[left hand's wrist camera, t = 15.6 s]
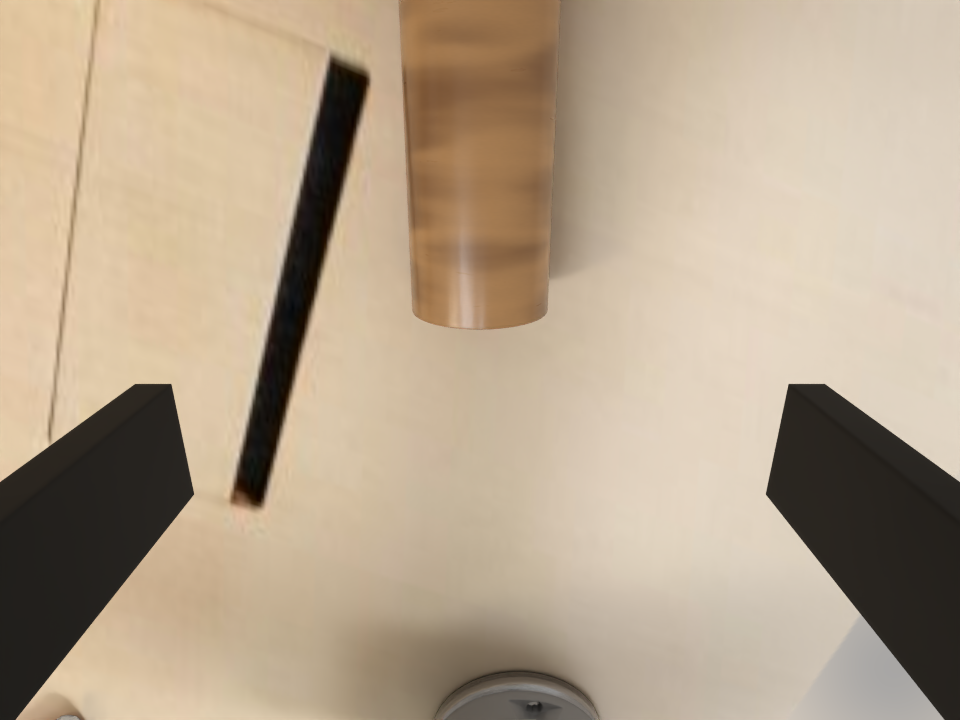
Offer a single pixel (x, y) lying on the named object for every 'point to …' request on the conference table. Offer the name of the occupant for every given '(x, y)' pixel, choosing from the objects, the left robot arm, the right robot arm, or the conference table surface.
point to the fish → (68, 717)
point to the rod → (479, 157)
